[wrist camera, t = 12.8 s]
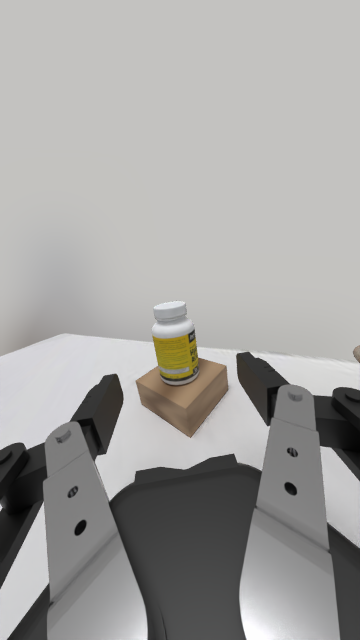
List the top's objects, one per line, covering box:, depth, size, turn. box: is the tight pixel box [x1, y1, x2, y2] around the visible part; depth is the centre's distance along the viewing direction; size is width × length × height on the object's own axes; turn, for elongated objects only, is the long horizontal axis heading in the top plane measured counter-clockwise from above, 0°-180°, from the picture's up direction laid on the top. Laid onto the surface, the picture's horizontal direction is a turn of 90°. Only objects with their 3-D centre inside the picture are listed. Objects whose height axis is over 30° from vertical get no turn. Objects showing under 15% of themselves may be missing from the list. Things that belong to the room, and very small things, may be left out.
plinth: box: [136, 358, 228, 438], centre depth 25 cm, size 9×9×4 cm
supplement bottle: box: [152, 301, 199, 385], centre depth 23 cm, size 5×5×10 cm
